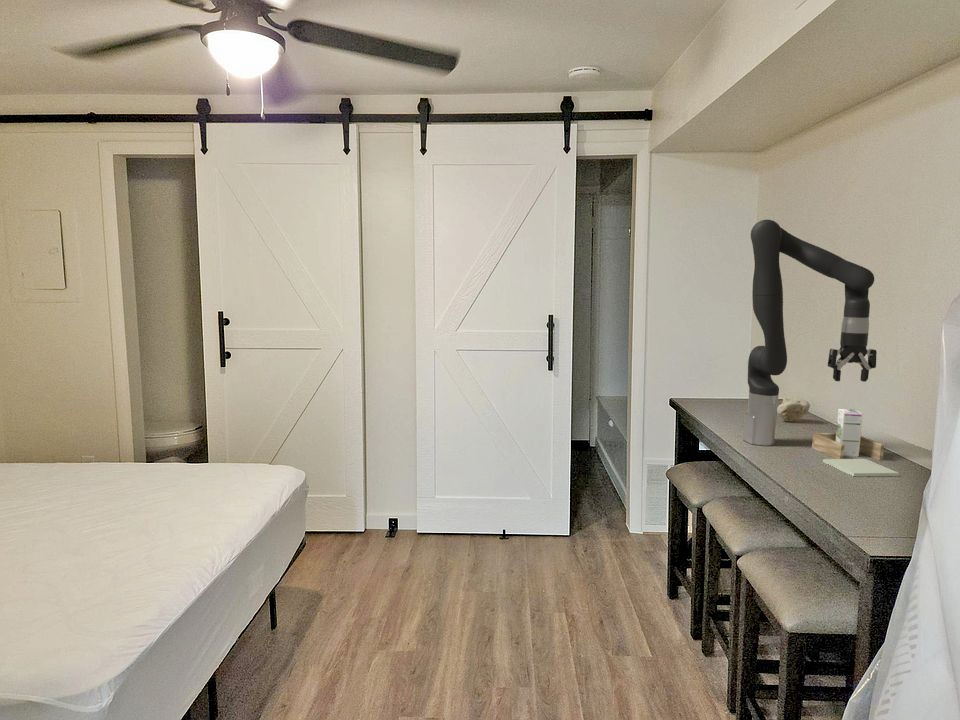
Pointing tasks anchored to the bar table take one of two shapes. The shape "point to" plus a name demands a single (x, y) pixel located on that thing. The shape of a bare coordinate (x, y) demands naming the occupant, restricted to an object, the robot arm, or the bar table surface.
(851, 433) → the syrup box
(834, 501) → the bar table surface
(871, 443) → the u-shaped pine frame
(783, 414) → the decorative item
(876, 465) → the sage mat
